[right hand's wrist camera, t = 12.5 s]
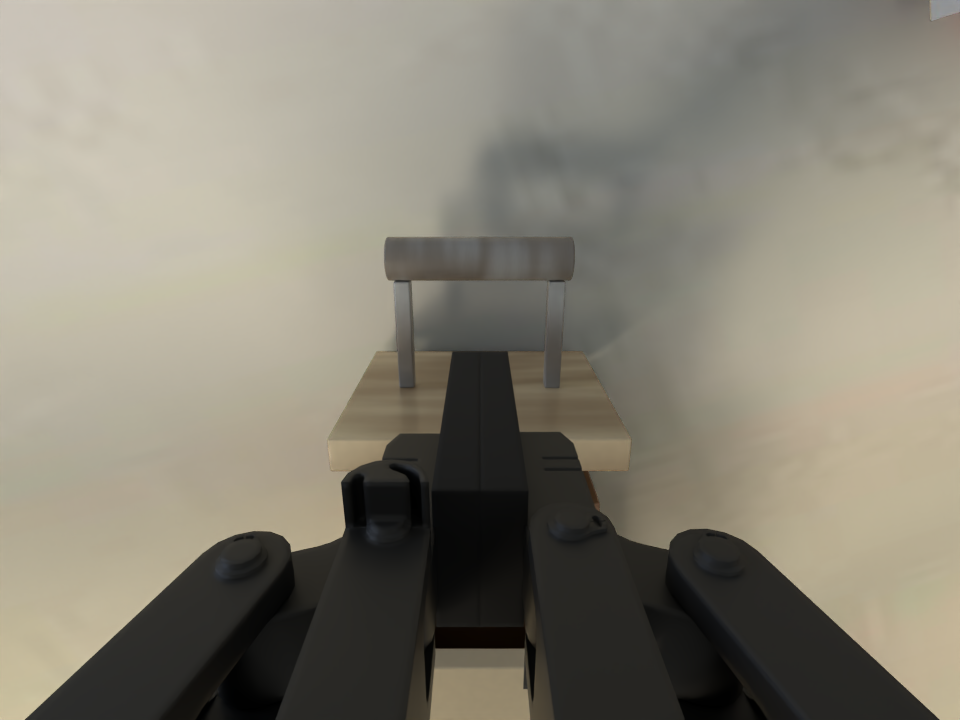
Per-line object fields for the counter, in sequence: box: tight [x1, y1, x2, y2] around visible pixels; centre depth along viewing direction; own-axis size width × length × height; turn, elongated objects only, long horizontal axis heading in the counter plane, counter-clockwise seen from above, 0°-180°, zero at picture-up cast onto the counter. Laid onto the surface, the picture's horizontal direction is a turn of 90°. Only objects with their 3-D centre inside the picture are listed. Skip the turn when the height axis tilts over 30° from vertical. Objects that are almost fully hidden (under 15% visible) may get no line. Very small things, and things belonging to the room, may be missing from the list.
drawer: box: [327, 237, 632, 649], centre depth 23 cm, size 25×10×9 cm, turn 0°
